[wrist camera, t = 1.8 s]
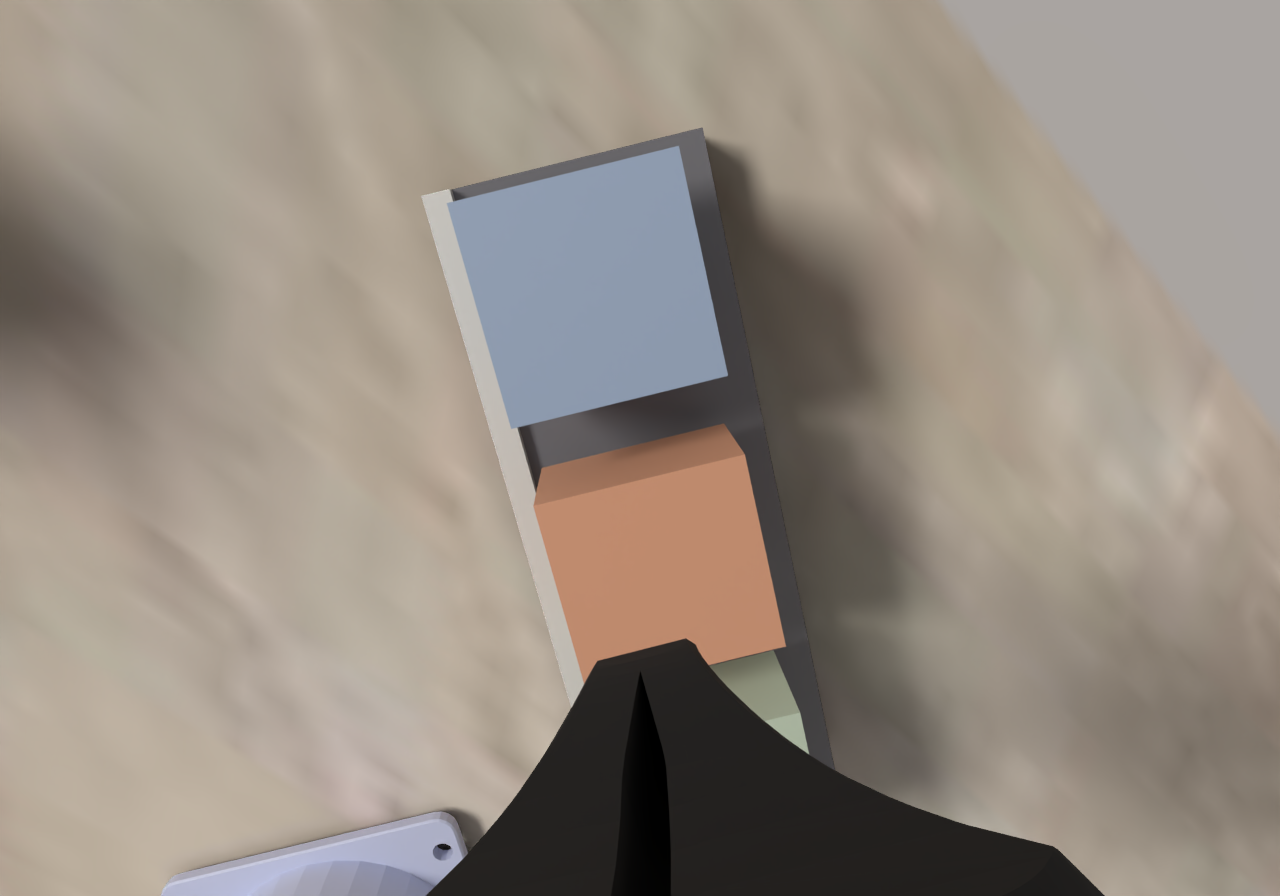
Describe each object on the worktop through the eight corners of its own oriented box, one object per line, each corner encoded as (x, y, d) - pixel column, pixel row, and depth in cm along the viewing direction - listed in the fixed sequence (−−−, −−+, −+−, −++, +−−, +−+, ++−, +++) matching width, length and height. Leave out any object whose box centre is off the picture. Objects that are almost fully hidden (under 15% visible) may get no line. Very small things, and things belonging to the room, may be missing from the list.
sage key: (805, 795, 20) (834, 875, 18) (644, 834, 20) (651, 919, 18) (773, 650, 19) (800, 712, 17) (604, 691, 19) (606, 759, 17)
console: (823, 745, 23) (838, 780, 21) (607, 797, 23) (608, 835, 21) (695, 134, 19) (704, 125, 17) (434, 198, 19) (421, 196, 17)
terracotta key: (760, 591, 19) (785, 646, 17) (588, 633, 19) (586, 694, 17) (723, 423, 18) (744, 454, 16) (541, 468, 18) (533, 505, 16)
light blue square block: (709, 355, 18) (728, 375, 15) (523, 400, 18) (511, 429, 15) (666, 158, 17) (678, 145, 14) (469, 207, 17) (446, 203, 14)
